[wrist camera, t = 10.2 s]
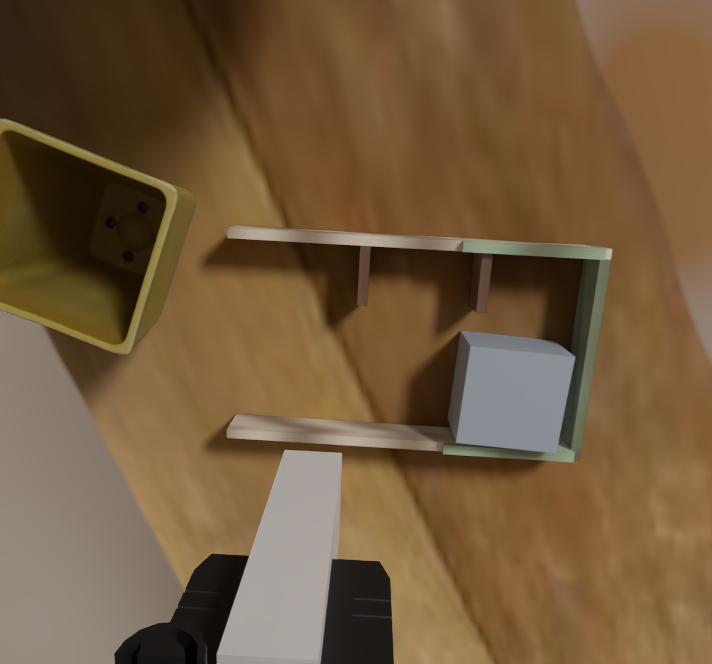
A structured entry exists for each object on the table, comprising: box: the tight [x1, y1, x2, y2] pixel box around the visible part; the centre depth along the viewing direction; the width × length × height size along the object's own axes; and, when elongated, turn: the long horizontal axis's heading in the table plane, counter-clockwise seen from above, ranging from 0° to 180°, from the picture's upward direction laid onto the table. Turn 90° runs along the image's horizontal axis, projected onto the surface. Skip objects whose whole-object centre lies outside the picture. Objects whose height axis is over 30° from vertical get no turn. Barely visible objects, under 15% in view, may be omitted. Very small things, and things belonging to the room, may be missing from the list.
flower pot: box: [0, 119, 196, 355], centre depth 31 cm, size 9×9×9 cm
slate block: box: [448, 331, 575, 453], centre depth 35 cm, size 6×6×4 cm
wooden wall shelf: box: [227, 226, 612, 462], centre depth 35 cm, size 22×13×3 cm, turn 87°
